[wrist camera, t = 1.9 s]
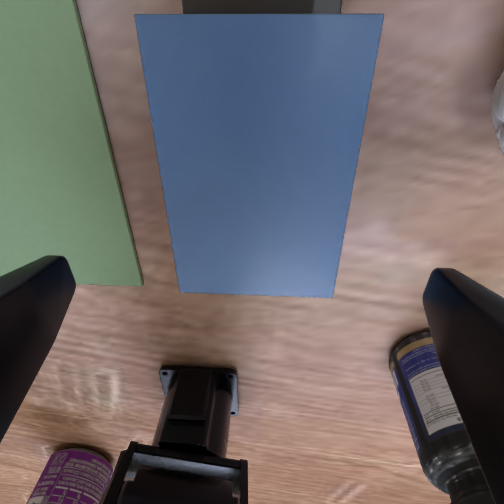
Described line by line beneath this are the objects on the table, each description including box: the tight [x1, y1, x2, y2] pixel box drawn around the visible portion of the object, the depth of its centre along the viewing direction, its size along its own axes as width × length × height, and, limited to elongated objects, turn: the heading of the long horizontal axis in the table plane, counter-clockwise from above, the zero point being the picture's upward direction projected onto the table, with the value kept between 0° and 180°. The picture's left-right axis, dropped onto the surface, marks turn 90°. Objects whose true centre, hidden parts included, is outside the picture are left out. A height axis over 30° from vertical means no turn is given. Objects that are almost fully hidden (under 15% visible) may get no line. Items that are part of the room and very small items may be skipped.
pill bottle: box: [389, 330, 495, 504], centre depth 21 cm, size 6×6×11 cm
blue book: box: [134, 14, 384, 298], centre depth 14 cm, size 10×7×3 cm, turn 0°
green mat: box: [0, 0, 143, 286], centre depth 19 cm, size 16×12×1 cm
